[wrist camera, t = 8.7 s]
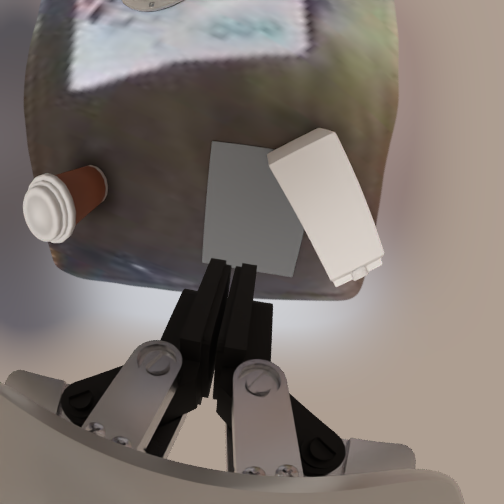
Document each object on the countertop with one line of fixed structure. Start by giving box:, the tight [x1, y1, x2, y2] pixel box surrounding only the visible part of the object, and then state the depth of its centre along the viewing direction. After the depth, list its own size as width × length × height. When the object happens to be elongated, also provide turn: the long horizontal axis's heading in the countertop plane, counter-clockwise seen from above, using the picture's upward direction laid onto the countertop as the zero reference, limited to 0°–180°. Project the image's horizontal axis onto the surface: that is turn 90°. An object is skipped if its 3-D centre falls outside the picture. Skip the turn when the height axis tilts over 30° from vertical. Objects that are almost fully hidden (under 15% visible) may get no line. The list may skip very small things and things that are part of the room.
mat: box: [202, 141, 304, 277], centre depth 35 cm, size 17×13×1 cm
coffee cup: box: [23, 165, 108, 243], centre depth 29 cm, size 9×9×12 cm
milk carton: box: [267, 128, 385, 287], centre depth 30 cm, size 7×7×19 cm
